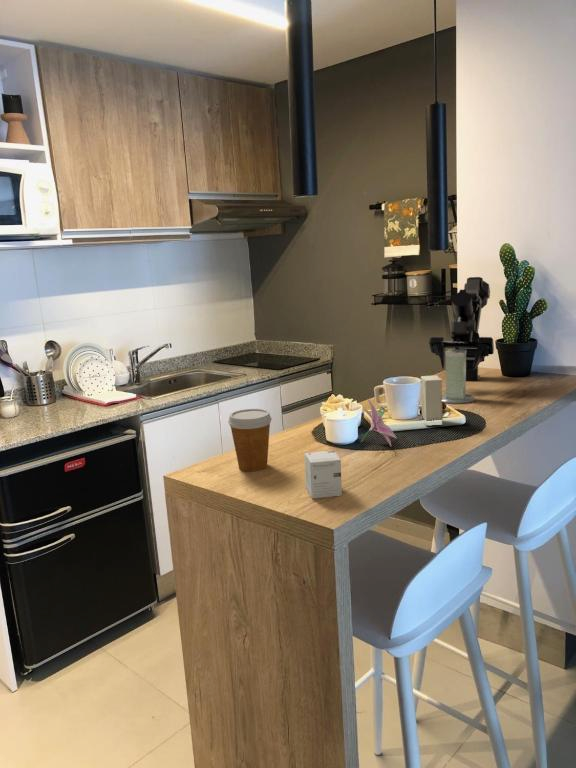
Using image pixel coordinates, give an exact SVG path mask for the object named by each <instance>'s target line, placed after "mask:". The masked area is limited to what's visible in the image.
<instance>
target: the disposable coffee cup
mask: <svg viewBox="0 0 576 768" xmlns="http://www.w3.org/2000/svg"><path fill="white" fill-rule="evenodd" d="M228 417H229V419H228V420H227V423H228V424H229V427H230V429H231V435H232V441H233V445H234V449H235V453H236V454H235V455H236V459H237V460H236V461H237V465H238V469H239V470H242V471H245V472H257V471H261V470H263V469H265V468H267V467H268V455H269V443H270V441H269V440H270V427H271V422H272V420H273V419H272V418H273V417H272V416H271V414H270V411H268V410H267V409H264V408H245V409H239V410H235V411H233V412H231V413H229V416H228Z"/></svg>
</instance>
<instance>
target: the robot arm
mask: <svg viewBox="0 0 576 768" xmlns="http://www.w3.org/2000/svg"><path fill="white" fill-rule="evenodd" d="M490 287H491V286H490V284H489V283H488V282H486V281H485V280H484V279H483V277H481V276H474V277H472V276H471V277H468V278H466V283H465V284H464V287H463V289H459V291H458V292H457V293H455V294H453V296H452V297H451V305H452V309H453V313H454V315H455V318H454V319H455V320H454V321H452V322H451V328H450V333H451V334H450V338H451V340H445V339H444V336H431V337H430V338H429V342H428V344H429V348H430V351H431V353H432V354H435V355H436V356H438V357H439V360H440V364H441V369H443V370H444V368H445V367H446V356H445V352H446V349H448V348H449V349H450V348H451V349H452V348H453V349H454V350H467V353H466V381H479V379H480V378H481V375H479V365H480V364H481V363H482V362H485V358H486V357H489V356H490V355H493V354H494V351H495V345H494V343H495V342H494V339H493V337H491V336H480V334H479V328H480V321H481V315H482V309H483V308H484V307H485V306H487V305H488V301H489V299H490V296H491V288H490Z"/></svg>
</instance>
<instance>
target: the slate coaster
mask: <svg viewBox="0 0 576 768" xmlns="http://www.w3.org/2000/svg"><path fill="white" fill-rule="evenodd" d="M475 400H476V397H475V396H474V395H472V394H468V393H466V396H465V398H464V400H449V399H446V393H442V401H443V402H445V403H444V404H447V405H463V404H464V405H465V404H470V403H471V404H472V403H473V402H475Z"/></svg>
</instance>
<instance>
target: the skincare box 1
mask: <svg viewBox="0 0 576 768" xmlns="http://www.w3.org/2000/svg"><path fill="white" fill-rule="evenodd" d="M303 456H304V457H303V458H304V476H305V477H304V478H305V479H304V480H305V481H304V482H305V489H306V490H307V493H308V495H309V497H310V498H311V499H319V498H329V497H332V498H333V497H340V496H342V494H343V493H342V492H343V491H342V462H341V461H342V460H341V458H340V457H339V455H338V454H337V453H336V451H335V450H325V451H314V452H307V453H306V452H305V453H304V455H303Z"/></svg>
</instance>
